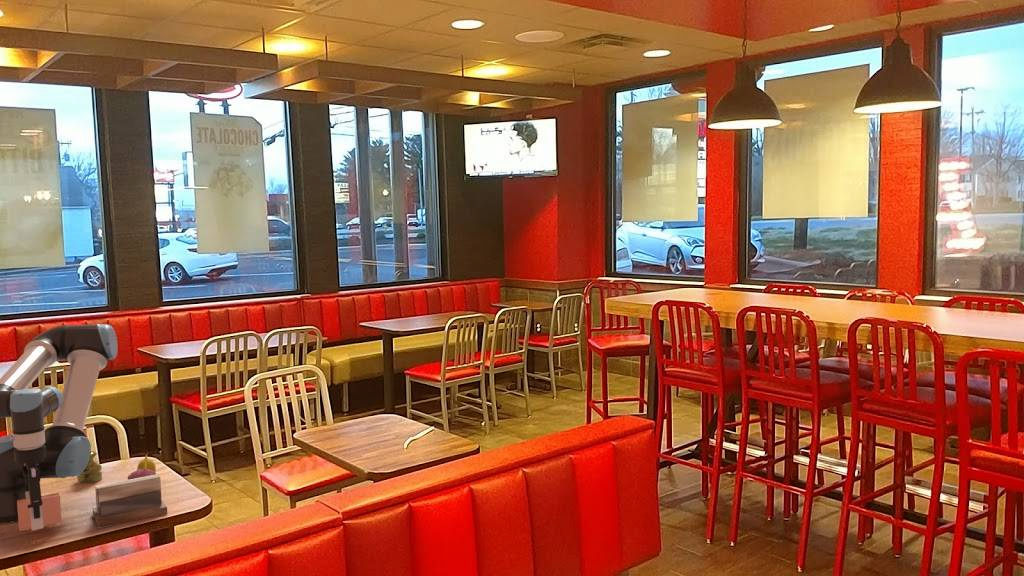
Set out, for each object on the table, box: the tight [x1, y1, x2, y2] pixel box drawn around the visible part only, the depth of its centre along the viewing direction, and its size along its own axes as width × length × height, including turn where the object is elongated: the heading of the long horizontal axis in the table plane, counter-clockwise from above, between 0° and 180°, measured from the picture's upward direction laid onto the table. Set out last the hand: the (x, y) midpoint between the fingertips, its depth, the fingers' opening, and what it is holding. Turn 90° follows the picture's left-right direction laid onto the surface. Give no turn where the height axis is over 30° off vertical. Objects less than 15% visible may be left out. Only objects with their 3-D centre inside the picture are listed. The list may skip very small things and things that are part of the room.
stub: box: [17, 492, 62, 532], centre depth 223 cm, size 3×10×8 cm, turn 125°
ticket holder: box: [91, 473, 168, 529], centre depth 237 cm, size 12×18×10 cm, turn 125°
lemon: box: [136, 458, 157, 473], centre depth 264 cm, size 6×6×8 cm
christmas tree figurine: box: [76, 449, 103, 485], centre depth 266 cm, size 7×7×10 cm
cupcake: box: [127, 453, 157, 480], centre depth 255 cm, size 9×8×12 cm
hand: (35, 521), depth 223 cm, fingers open, 13 cm apart
